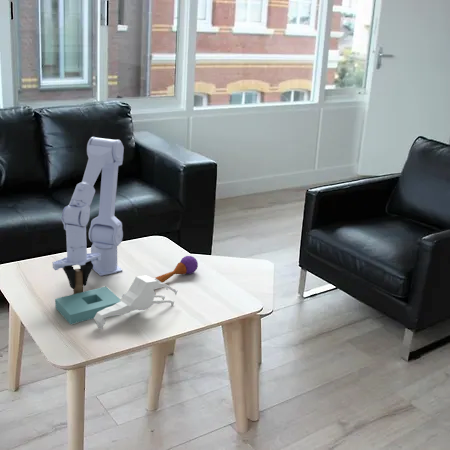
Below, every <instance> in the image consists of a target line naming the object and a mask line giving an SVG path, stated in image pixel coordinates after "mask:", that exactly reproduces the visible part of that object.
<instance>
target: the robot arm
mask: <svg viewBox="0 0 450 450" xmlns="http://www.w3.org/2000/svg"><path fill="white" fill-rule="evenodd" d="M124 149H125V147H124V145H123V142H122V141H121V140H120V139H111V138H102V137H96V136H91V137H90V138H89V140H88V141H87V144H86V155H87V158H88V159H87V163H86V165H85V166H86V167H85V170H84V174H83V177H82V180H81V182H79V183H77V184H76V186H75V189H74V191H73V194H72V195H71V199H70V201H69V202H68V203H69V204H68V205H66V206H64V208H63V209H62V213H61V219H60V220H61V222H62V224H63V230H65V235H66V236H65V238H66V256H65V257H64V258H60V259H57V260H55V261H52V269H53V270H54V271H59V269H62V270H63V271H64V273H65V275H66V278H67V279H68V280H67V281H68V283H69V287H70V288H71V289H72V290H73V289H74V288H75V272H76V271H75V270H74V269H75V268H74V266H79V267H80V268H79V269H82V270H83V287H86V286H87V284H88V280H89V276H90V274H91V272H92V270H93V271H94V272H95V273H97V275H99V276H100V277H103V276H107V275H111V274H116V273H120V272H123V268H121V267H120V266H119V265H118V246H120V245H121V243H122V241H123V239H124V238H123V237H124V231H123V222H122V221H121V220H120V219H118V218H117V216H115V215H116V214H115V211H116V198H117V188H118V175H119V174H118V173H119V167H120V166H122V165H123V161H124ZM100 173H101V181H100V194H99V206H98V207H99V208H98V215H97V216H96V217H94V218H92V219H91V222H90V227H89V229H88V239H89V241H90V242H91V243H92V245H91V247H90V253H88V249H87V246H88V245H87V225H88V223H89V221H90V216H91V215H90V213H91V204H92V202H93V199H94V196H95V193H96V189H95V186H94V185H95V183H96V181H98V180H97V179H98V178H99V175H100Z"/></svg>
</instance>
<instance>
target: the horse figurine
mask: <svg viewBox="0 0 450 450" xmlns="http://www.w3.org/2000/svg"><path fill="white" fill-rule="evenodd" d="M161 288H165V289H166V291H168V290H170V291H172V292H173V294H174V295H175V296H177V294H178V290H177V289H174V288H173V287H171V286H170V285H168V284H167V283H165V282H163V283H162V282H160V281H159V280H158V279H156V278H155V277H151V276H149V275H147V274H145V275H139V276H138V275H137V276H135V277H134V280H133V282H132V283H131V284H130V287H129V289H128V290H126V292H125V293H124V294H123V295H122V297H121V298H119V299H120V301H121V302H118V303H116V304H115V305H113V306H110V307H107V308H105V309H103V310H101V311H99V312H97V313H96V315H95V317H94V318H93V320H94V321H95V324H96V326H97V328H98V329H100V330H103V329H104V326H105V325H106V321H107V319H106V318H109V317H113V316H123V315H125V314H128V313H129V314H130V313H131V312H133V311H142V310H143V311H144V310H149V308H151V307H152V306H153V305H154V304H158V305H159V304H162V303H163V304H164V303H165V304H166V303H167V304H168V303H169V304H170V305H172V306H174V304H175V301H174V300H167V299H165V298H166V296H165V295H161V294H156V292H155V290H156V289H161ZM155 298H161V299H160V300H155Z"/></svg>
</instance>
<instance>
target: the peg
mask: <svg viewBox="0 0 450 450" xmlns="http://www.w3.org/2000/svg"><path fill="white" fill-rule="evenodd" d="M73 269H74V270H75V271H76V272H75V288H74V289H72V293H73V294H77V293H81V292H84V285H83V270H82V269H80V268H73ZM73 294H72V295H73Z"/></svg>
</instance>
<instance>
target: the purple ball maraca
mask: <svg viewBox="0 0 450 450" xmlns="http://www.w3.org/2000/svg"><path fill="white" fill-rule="evenodd" d="M198 266H199V263H198V259H196V258H195V257H194V256H192V255H185V256H184V257H183V258H181V260H180V262H178V263H177V265H176V266H175V268H174V269H173V271H172V270H171V271H170V272H167V273H164V274H161V275H158V276H156V277H154V278H156V279H158V280H159V281H160V282H162V283H165V282H166V281H168V279H170V278H171V277H173V276H174V275H187V274H188V275H191V274H194V273H196V271H197V269H198Z"/></svg>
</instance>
